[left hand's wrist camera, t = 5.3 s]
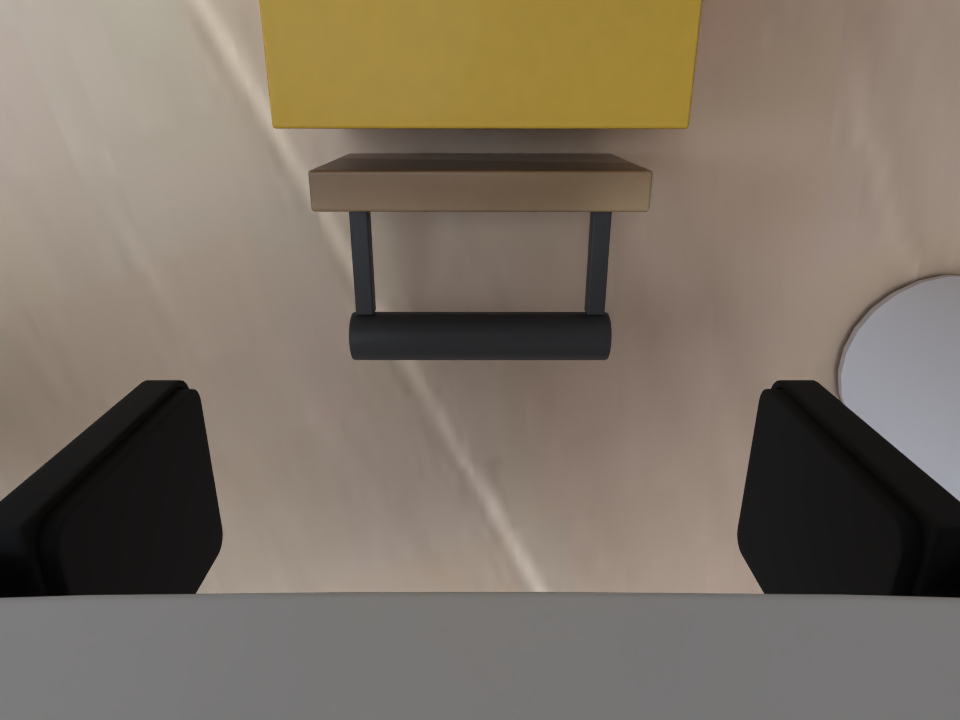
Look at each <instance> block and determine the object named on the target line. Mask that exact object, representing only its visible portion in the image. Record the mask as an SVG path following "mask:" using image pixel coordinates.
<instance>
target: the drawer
mask: <svg viewBox="0 0 960 720" xmlns="http://www.w3.org/2000/svg"><path fill="white" fill-rule="evenodd" d="M308 174H309V185H310V196H311V207H312V210H313V211H349V217H350V231H351V246H352V260H353V274H354V289H355V303H356V312H354V313H353V314H352V316H351V319H350V326H349V345H350V352H351V355H352V358H353V359H354V360H606V359H608V357H609V354H610V349H611V322H610V317H609V315H608V313H606V312H604V311H605V297H606V283H607V269H608V255H609V241H610V227H611V214H612V212H647V211H648V210H649V206H650V195H651V184H652V171H650V170H647V169H645V168H643V167H640V166H638V165H636V164H633V163H631V162H629V161H626V160H624V159H622V158H619V157H617V156H614V155H612V154H348V155H345V156H343V157H341V158H338V159H336V160H334V161H331V162H329V163H327V164H324V165H322V166H320V167H317V168H315V169H313V170H310V171H309V173H308ZM370 212H590V229H589V245H588V262H587V278H586V295H585V311H586V312H375V310H376V303H375V286H374V269H373V252H372V235H371V218H370Z"/></svg>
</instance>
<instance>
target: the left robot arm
mask: <svg viewBox="0 0 960 720" xmlns="http://www.w3.org/2000/svg"><path fill="white" fill-rule="evenodd" d="M222 537H223V532H222V524H221V518H220V512H219V506H218V500H217V494H216V488H215V482H214V476H213V470H212V464H211V458H210V452H209V446H208V440H207V434H206V429H205V423H204V417H203V411H202V405H201V399H200V395H199V393H198V392H197V391H196V390H195V389H189V388H188V386H187V384H186V383H185V382H184V381H180V380H146V381H144V382H142V383H141V384H140V385H138V386H137V387H136V388H135V389H134V390H133V391H131V392H130V393H129V394H128V395H127V396H125V397H124V398H123V399H122V400H121V401H119V402H118V403H117V404H116V405H115V406H113V407H112V408H111V409H110V410H109V411H107V412H106V413H105V414H104V415H103V416H102V417H100V418H99V419H98V420H97V421H96V422H94V423H93V424H92V425H91V426H90V427H88V428H87V429H86V430H85V431H84V432H82V433H81V434H80V435H79V436H78V437H76V438H75V439H74V440H73V441H72V442H71V443H69V444H68V445H67V446H66V447H65V448H63V449H62V450H61V451H60V452H59V453H57V454H56V455H55V456H54V457H53V458H51V459H50V460H49V461H48V462H47V463H45V464H44V465H43V466H42V467H41V468H40V469H38V470H37V471H36V472H35V473H34V474H32V475H31V476H30V477H29V478H28V479H26V480H25V481H24V482H23V483H22V484H20V485H19V486H18V487H17V488H16V489H14V490H13V491H12V492H11V493H10V494H9V495H7V496H6V497H5V498H4V499H3V500H1V501H0V720H960V501H959V500H957V499H956V498H955V497H954V496H953V495H952V494H950V493H949V492H948V491H947V490H946V489H944V488H943V487H942V486H941V485H940V484H938V483H937V482H936V481H935V480H934V479H932V478H931V477H930V476H929V475H928V474H926V473H925V472H924V471H923V470H922V469H921V468H919V467H918V466H917V465H916V464H915V463H913V462H912V461H911V460H910V459H909V458H907V457H906V456H905V455H904V454H903V453H901V452H900V451H899V450H898V449H897V448H895V447H894V446H893V445H892V444H891V443H890V442H888V441H887V440H886V439H885V438H884V437H882V436H881V435H880V434H879V433H878V432H876V431H875V430H874V429H873V428H872V427H870V426H869V425H868V424H867V423H866V422H864V421H863V420H862V419H861V418H860V417H859V416H857V415H856V414H855V413H854V412H853V411H851V410H850V409H849V408H848V407H847V406H845V405H844V404H843V403H842V402H841V401H839V400H838V399H837V398H836V397H835V396H833V395H832V394H831V393H830V392H829V391H828V390H826V389H825V388H824V387H823V386H822V385H820V384H819V383H818V382H816V381H814V380H780V381H776V382H775V383H774V384H773V386H772V388H771V389H765V390H764V391H763V392H762V394H761V396H760V399H759V405H758V411H757V417H756V423H755V429H754V435H753V441H752V447H751V453H750V459H749V465H748V471H747V477H746V482H745V488H744V494H743V500H742V506H741V512H740V518H739V524H738V532H737V537H738V545H739V549H740V551H741V554H742V556H743V557H744V559H745V561H746V563H747V564H748V566H749V568H750V570H751V571H752V573H753V575H754V576H755V578H756V580H757V582H758V583H759V585H760V587H761V589H762V590H763V592H764V594H714V593H597V592H332V593H240V594H196V592H197V590H198V589H199V587H200V585H201V583H202V582H203V580H204V578H205V577H206V575H207V573H208V571H209V570H210V568H211V566H212V564H213V563H214V561H215V559H216V557H217V556H218V554H219V552H220V549H221V545H222Z"/></svg>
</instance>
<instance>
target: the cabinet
mask: <svg viewBox="0 0 960 720" xmlns="http://www.w3.org/2000/svg"><path fill="white" fill-rule="evenodd" d="M259 2H260V11H261V21H262V30H263V39H264V49H265V58H266V68H267V77H268V87H269V96H270V105H271V115H272V124H273V127H274V128H383V129H686V128H688V126H689V117H690V108H691V99H692V89H693V80H694V71H695V62H696V53H697V43H698V34H699V25H700V16H701V6H702V0H259Z"/></svg>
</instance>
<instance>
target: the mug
mask: <svg viewBox="0 0 960 720" xmlns="http://www.w3.org/2000/svg"><path fill="white" fill-rule="evenodd" d="M838 388H839V396H840V398H841V401H842V403H843V404H844V405H845V406H847V407H848V408H849V409H850V410H851V411H853V412H854V413H855V414H856V415H857V416H859V417H860V418H861V419H862V420H863V421H864V422H866V423H867V424H868V425H869V426H870V427H872V428H873V429H874V430H875V431H876V432H878V433H879V434H880V435H881V436H882V437H884V438H885V439H886V440H887V441H888V442H890V443H891V444H892V445H893V446H894V447H895V448H897V449H898V450H899V451H900V452H901V453H903V454H904V455H905V456H906V457H907V458H909V459H910V460H911V461H912V462H913V463H915V464H916V465H917V466H918V467H919V468H921V469H922V470H923V471H924V472H925V473H926V474H928V475H929V476H930V477H931V478H932V479H934V480H935V481H936V482H937V483H938V484H940V485H941V486H942V487H943V488H944V489H946V490H947V491H948V492H949V493H950V494H952V495H953V496H954V497H955V498H956V499H957V500H959V501H960V275H941V276H936V277H932V278H927V279H923V280H918V281H916V282H914V283H912V284H910V285H907V286H905V287H903V288H901V289H899V290H897V291H895V292H892V293H891V294H889V295H888V296H887V297H885V298H884V299H883V300H881V301H880V302H879V303H878V304H876V305H875V306H874V307H872V308H871V309H870V310H869V311H868V312H867V314H866V315H865V316H864V317H863V318H862V319H861V320H860V322H859V323H858V324H857V325H856V326H855V327H854V329H853V331H852V333H851V335H850V337H849V339H848V341H847V342H846V344H845V346H844V348H843V352H842V356H841V360H840V364H839V368H838Z"/></svg>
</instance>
